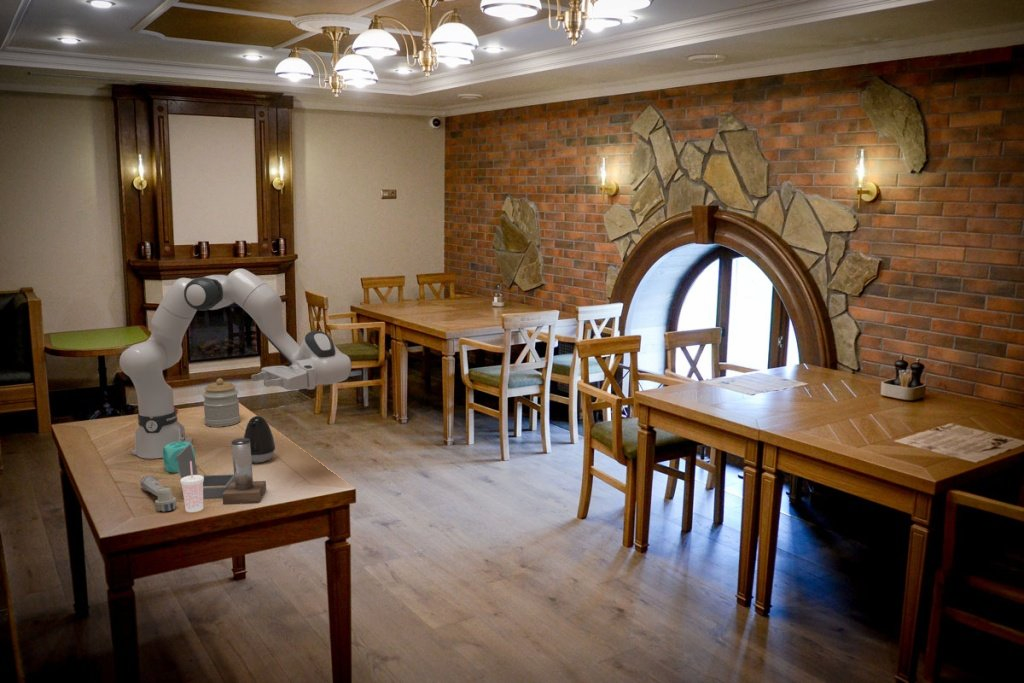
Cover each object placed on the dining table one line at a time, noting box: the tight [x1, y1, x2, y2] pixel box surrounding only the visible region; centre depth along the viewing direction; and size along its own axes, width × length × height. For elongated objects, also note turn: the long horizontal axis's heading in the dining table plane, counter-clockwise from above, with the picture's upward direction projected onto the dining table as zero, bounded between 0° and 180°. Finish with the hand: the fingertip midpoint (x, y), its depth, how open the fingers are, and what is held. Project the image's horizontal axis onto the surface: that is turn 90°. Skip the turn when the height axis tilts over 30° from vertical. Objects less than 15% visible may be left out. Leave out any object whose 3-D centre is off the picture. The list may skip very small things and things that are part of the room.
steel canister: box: [231, 437, 254, 490], centre depth 237 cm, size 5×5×14 cm
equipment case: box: [176, 444, 235, 499], centre depth 243 cm, size 12×14×13 cm
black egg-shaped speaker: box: [243, 415, 276, 464], centre depth 271 cm, size 10×10×15 cm
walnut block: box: [222, 480, 267, 505], centre depth 239 cm, size 10×10×3 cm
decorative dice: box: [162, 442, 196, 474], centre depth 264 cm, size 8×8×8 cm
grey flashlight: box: [139, 475, 177, 512], centre depth 238 cm, size 5×7×25 cm
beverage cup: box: [180, 461, 204, 513], centre depth 229 cm, size 6×6×14 cm
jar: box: [202, 377, 241, 428], centre depth 316 cm, size 13×13×18 cm
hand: (258, 380), depth 245 cm, fingers open, 8 cm apart
